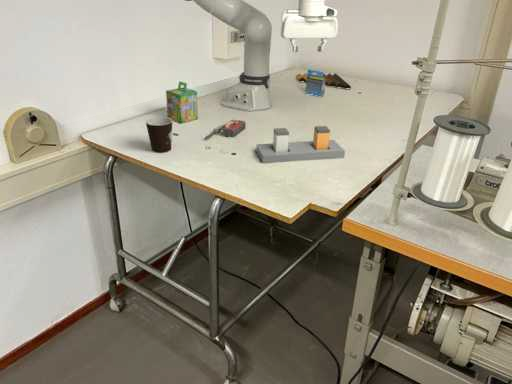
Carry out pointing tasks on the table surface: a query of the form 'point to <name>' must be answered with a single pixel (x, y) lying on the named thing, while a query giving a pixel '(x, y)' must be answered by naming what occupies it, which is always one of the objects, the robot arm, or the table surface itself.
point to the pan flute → (328, 80)
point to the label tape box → (315, 83)
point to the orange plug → (321, 137)
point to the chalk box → (182, 104)
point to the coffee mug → (160, 133)
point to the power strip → (299, 152)
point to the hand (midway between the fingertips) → (307, 51)
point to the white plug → (280, 140)
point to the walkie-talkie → (229, 129)
